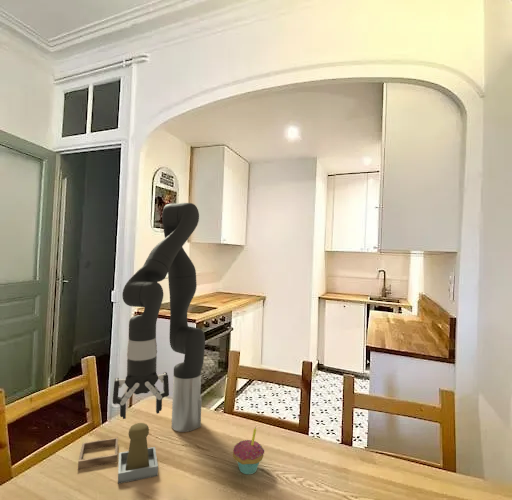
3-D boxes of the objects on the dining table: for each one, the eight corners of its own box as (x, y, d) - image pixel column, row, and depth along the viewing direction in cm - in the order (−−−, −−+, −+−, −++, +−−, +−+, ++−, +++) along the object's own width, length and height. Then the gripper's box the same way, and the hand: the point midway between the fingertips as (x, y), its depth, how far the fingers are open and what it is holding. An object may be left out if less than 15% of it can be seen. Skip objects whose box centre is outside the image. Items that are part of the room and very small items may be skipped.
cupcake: (267, 464, 94) (268, 420, 94) (257, 482, 86) (258, 435, 86) (238, 457, 97) (240, 415, 97) (226, 474, 89) (228, 428, 89)
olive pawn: (142, 475, 87) (143, 432, 87) (120, 472, 88) (122, 429, 88) (153, 461, 93) (154, 421, 93) (133, 458, 94) (134, 418, 94)
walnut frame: (117, 444, 102) (118, 437, 102) (116, 462, 93) (117, 454, 93) (82, 449, 98) (82, 442, 98) (77, 469, 89) (78, 461, 89)
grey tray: (154, 455, 96) (155, 446, 96) (157, 476, 87) (158, 466, 88) (118, 461, 93) (118, 452, 93) (117, 483, 84) (118, 473, 84)
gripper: (167, 348, 97) (166, 404, 97) (113, 353, 92) (112, 413, 92) (171, 356, 90) (169, 417, 90) (113, 361, 85) (112, 426, 85)
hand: (141, 414), depth 91 cm, fingers open, 8 cm apart
